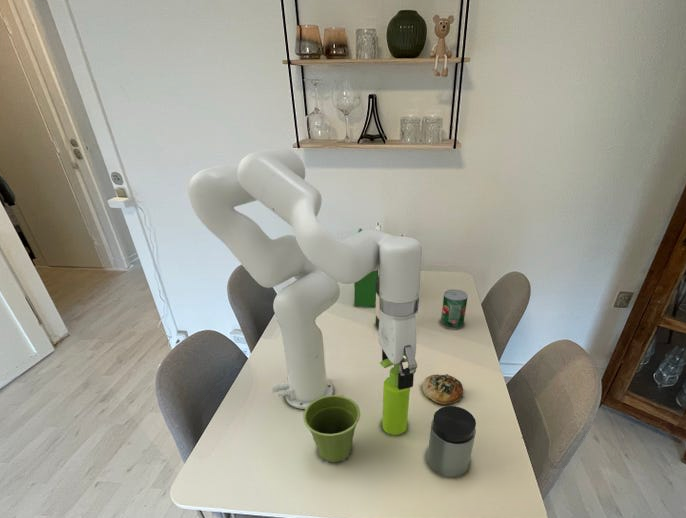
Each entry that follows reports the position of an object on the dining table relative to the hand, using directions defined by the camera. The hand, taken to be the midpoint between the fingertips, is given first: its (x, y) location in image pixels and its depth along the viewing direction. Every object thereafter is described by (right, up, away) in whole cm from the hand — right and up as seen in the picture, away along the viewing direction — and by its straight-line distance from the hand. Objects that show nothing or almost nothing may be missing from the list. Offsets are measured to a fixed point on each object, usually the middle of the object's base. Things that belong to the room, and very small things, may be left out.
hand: (396, 374), depth 83 cm
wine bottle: (+1, +13, +49) cm, 50 cm away
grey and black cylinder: (+11, -19, +1) cm, 22 cm away
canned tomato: (+23, +14, +50) cm, 57 cm away
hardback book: (-7, +25, +68) cm, 73 cm away
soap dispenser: (0, -13, +9) cm, 16 cm away
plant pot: (-14, -18, +3) cm, 22 cm away
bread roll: (+13, -6, +20) cm, 25 cm away
